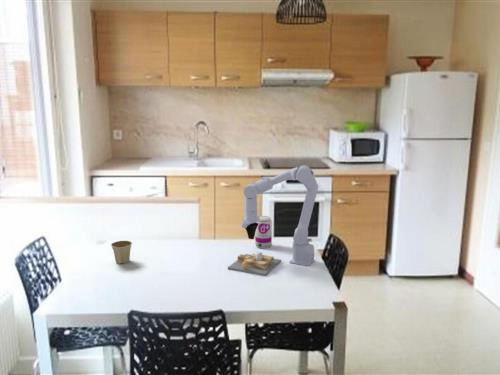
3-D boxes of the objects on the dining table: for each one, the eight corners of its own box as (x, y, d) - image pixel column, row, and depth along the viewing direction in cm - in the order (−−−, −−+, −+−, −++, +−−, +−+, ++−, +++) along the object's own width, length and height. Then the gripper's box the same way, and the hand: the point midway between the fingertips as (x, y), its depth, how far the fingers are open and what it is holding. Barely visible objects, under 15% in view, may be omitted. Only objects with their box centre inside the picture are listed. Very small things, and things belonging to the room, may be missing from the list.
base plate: (281, 261, 198) (281, 249, 197) (265, 276, 182) (265, 262, 181) (245, 255, 206) (245, 243, 205) (227, 269, 190) (227, 256, 189)
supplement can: (271, 249, 215) (271, 220, 212) (255, 249, 215) (255, 220, 212) (271, 243, 223) (271, 215, 220) (255, 243, 223) (255, 215, 220)
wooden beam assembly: (273, 261, 195) (273, 256, 195) (264, 269, 187) (264, 264, 186) (244, 256, 202) (244, 251, 201) (234, 264, 193) (233, 259, 193)
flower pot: (136, 258, 205) (135, 240, 203) (128, 265, 196) (127, 247, 194) (117, 257, 206) (115, 240, 204) (108, 264, 196) (107, 246, 195)
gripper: (250, 205, 206) (250, 233, 208) (235, 213, 193) (236, 242, 196) (263, 207, 203) (263, 235, 205) (250, 214, 190) (250, 244, 193)
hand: (251, 238), depth 200 cm, fingers closed
